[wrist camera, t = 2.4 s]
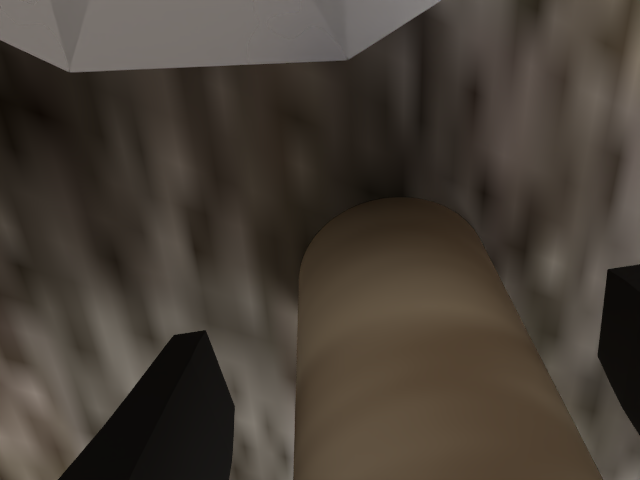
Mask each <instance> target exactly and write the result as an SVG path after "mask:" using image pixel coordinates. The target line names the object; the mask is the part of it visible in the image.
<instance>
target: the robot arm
mask: <svg viewBox="0 0 640 480" xmlns="http://www.w3.org/2000/svg"><path fill="white" fill-rule="evenodd" d="M598 358H599V360H600V362H601V364H602V366H603V369H604V371H605V373H606V375H607V377H608V379H609V382H610V384H611V386H612V388H613V390H614V392H615V394H616V396H617V398H618V400H619V402H620V404H621V406H622V408H623V410H624V411H625V413H626V415H627V416H628V418H629V419H630V421H631V423H632V424H633V426H634V427H635V429H636V430H637V432H638V434H639V435H640V264H639V265H633V266H626V267H620V268H613V269H608V271H607V280H606V288H605V297H604V306H603V314H602V323H601V331H600V340H599V348H598ZM234 412H235V406H234V403H233V401H232V398H231V395H230V393H229V390H228V387H227V385H226V382H225V380H224V377H223V374H222V372H221V369H220V366H219V364H218V361H217V358H216V356H215V353H214V351H213V348H212V345H211V343H210V340H209V337H208V335H207V332H206V330H204V331H198V332H191V333H185V334H178V335H174V336H173V337H172V338H171V340H170V341H169V342H168V343H167V345H166V346H165V347H164V348H163V350H162V351H161V352H160V354H159V355H158V356H157V358H156V359H155V360H154V362H153V363H152V364H151V366H150V367H149V368H148V370H147V371H146V372H145V374H144V375H143V376H142V377H141V379H140V380H139V381H138V383H137V384H136V385H135V387H134V388H133V389H132V391H131V392H130V393H129V395H128V396H127V397H126V398H125V400H124V401H123V402H122V403H121V405H120V406H119V407H118V409H117V410H116V411H115V412H114V414H113V415H112V416H111V417H110V419H109V420H108V421H107V422H106V424H105V425H104V426H103V428H102V429H101V430H100V431H99V432H98V433H97V435H96V436H95V437H94V438H93V439H92V440H91V442H90V443H89V444H88V445H87V446H86V447H85V449H84V450H83V451H82V452H81V453H80V455H79V456H78V457H77V458H76V459H75V460H74V462H73V463H72V464H71V465H70V466H69V467H68V469H67V470H66V471H65V472H64V473H63V474H62V476H61V477H60V478H59V479H58V480H229V475H230V469H231V463H232V453H233V437H234Z"/></svg>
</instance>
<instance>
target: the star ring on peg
mask: <svg viewBox="0 0 640 480" xmlns="http://www.w3.org/2000/svg"><path fill="white" fill-rule="evenodd" d="M440 1H441V0H0V40H1V41H3V42H5V43H7V44H10V45H12V46H14V47H16V48H18V49H20V50H22V51H25V52H27V53H29V54H31V55H33V56H35V57H37V58H40V59H42V60H44V61H46V62H48V63H50V64H52V65H55V66H57V67H59V68H61V69H63V70H65V71H67V72H92V71H115V70H137V69H160V68H183V67H206V66H228V65H251V64H274V63H297V62H319V61H342V60H347V58H348V60H349V59H351V58H352V57H354V56H355V55H357V54H358V53H360V52H361V51H363V50H365V49H366V48H368V47H369V46H371V45H372V44H374V43H376V42H377V41H379V40H380V39H382V38H383V37H385V36H386V35H388V34H390V33H391V32H393V31H394V30H396V29H397V28H399V27H401V26H402V25H404V24H405V23H407V22H408V21H410V20H412V19H413V18H415V17H416V16H418V15H419V14H421V13H422V12H424V11H426V10H427V9H429V8H430V7H432V6H433V5H435V4H437V3H438V2H440Z"/></svg>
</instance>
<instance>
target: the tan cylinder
mask: <svg viewBox="0 0 640 480" xmlns="http://www.w3.org/2000/svg"><path fill="white" fill-rule="evenodd" d="M293 480H603V479H602V477H601V475H600V473H599V471H598V469H597V467H596V465H595V463H594V461H593V459H592V457H591V455H590V453H589V451H588V449H587V447H586V445H585V443H584V441H583V440H582V438H581V436H580V434H579V432H578V430H577V428H576V426H575V424H574V422H573V420H572V418H571V416H570V414H569V412H568V410H567V408H566V406H565V404H564V402H563V400H562V398H561V397H560V395H559V393H558V391H557V389H556V387H555V385H554V383H553V381H552V379H551V377H550V375H549V373H548V371H547V369H546V367H545V365H544V363H543V361H542V359H541V357H540V355H539V353H538V352H537V350H536V348H535V346H534V344H533V342H532V340H531V338H530V336H529V334H528V332H527V330H526V328H525V326H524V324H523V322H522V320H521V318H520V316H519V314H518V312H517V310H516V309H515V307H514V305H513V303H512V301H511V299H510V297H509V295H508V293H507V291H506V289H505V287H504V285H503V283H502V281H501V279H500V277H499V275H498V273H497V271H496V269H495V267H494V265H493V264H492V262H491V260H490V258H489V256H488V254H487V252H486V250H485V248H484V246H483V244H482V242H481V240H480V238H479V236H478V235H477V233H476V232H475V230H474V229H473V228H472V227H471V226H470V225H469V223H468V222H467V221H466V220H465V219H463V218H462V217H461V216H460V215H458V214H457V213H455V212H454V211H452V210H450V209H449V208H447V207H445V206H442V205H440V204H437V203H435V202H431V201H428V200H424V199H418V198H411V197H391V198H382V199H377V200H373V201H368V202H366V203H363V204H360V205H357V206H355V207H353V208H350V209H348V210H346V211H344V212H343V213H341V214H340V215H338V216H336V217H335V218H333V219H332V220H331V221H330V222H329V223H327V224H326V225H325V226H324V227H323V228H322V229H321V230H320V231H319V232H318V233H317V234H316V236H315V237H314V238H313V240H312V241H311V243H310V244H309V246H308V248H307V250H306V252H305V254H304V256H303V259H302V262H301V266H300V272H299V297H298V333H297V369H296V404H295V440H294V476H293Z"/></svg>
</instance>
